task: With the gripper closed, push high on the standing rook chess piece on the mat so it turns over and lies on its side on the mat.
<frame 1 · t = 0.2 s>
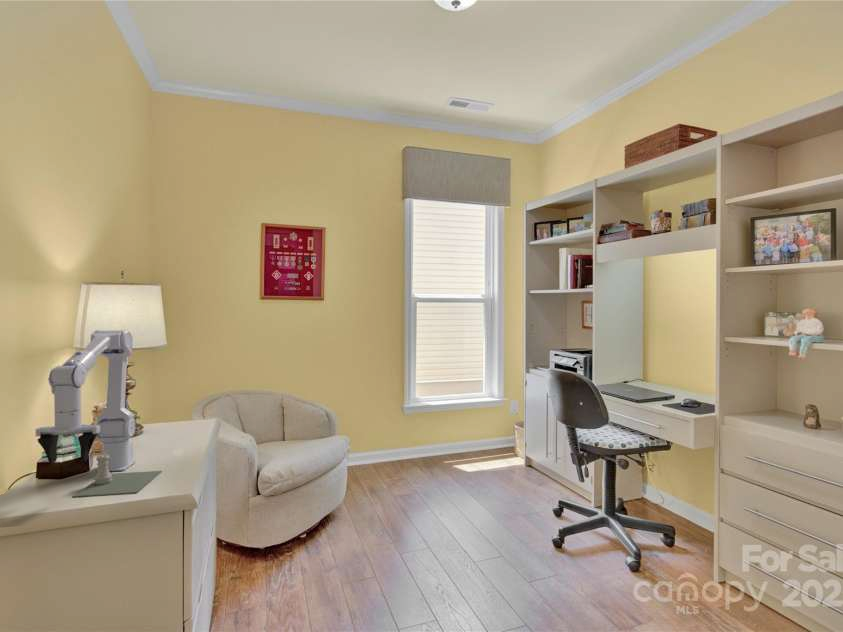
hand: (68, 461, 126), 10 cm above the table, tool pointing down, fingers open, 7 cm apart
mat: (120, 483, 137), on the table
rook chess piece: (103, 483, 137), resting on mat
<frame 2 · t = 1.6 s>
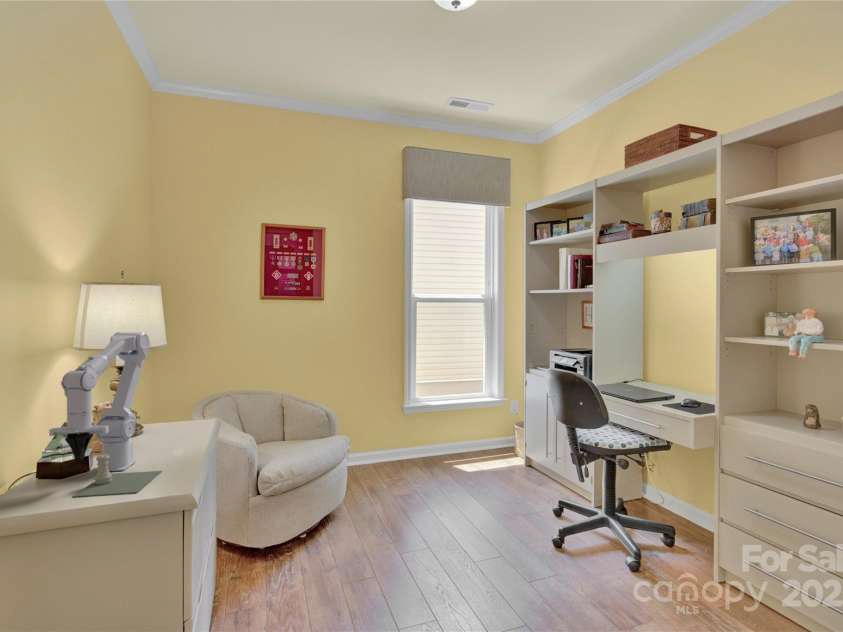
hand: (79, 459, 136), 7 cm above the table, tool pointing down, fingers closed
nothing on the table moved.
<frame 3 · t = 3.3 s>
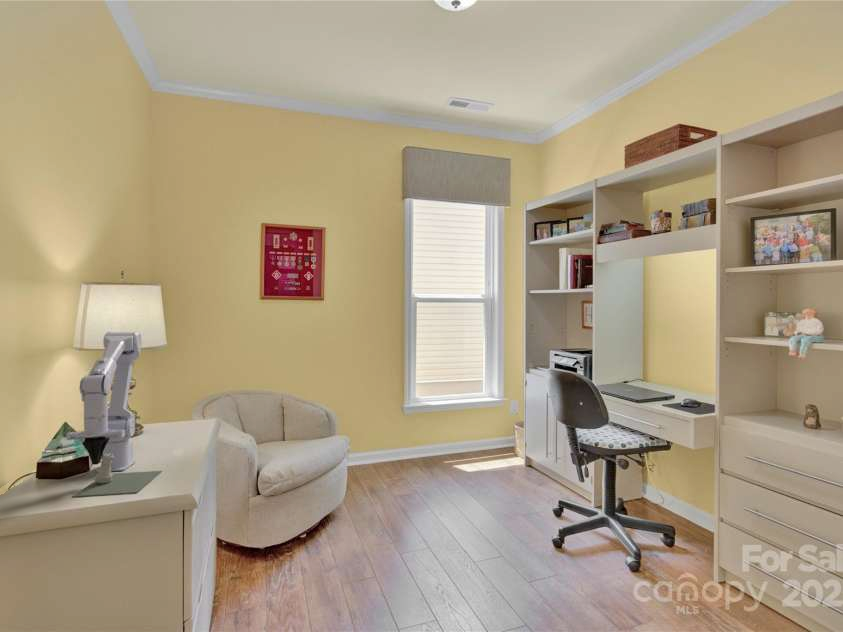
hand: (96, 463, 137), 6 cm above the table, tool pointing down, fingers closed
rook chess piece: (103, 481, 137), resting on mat, touching gripper
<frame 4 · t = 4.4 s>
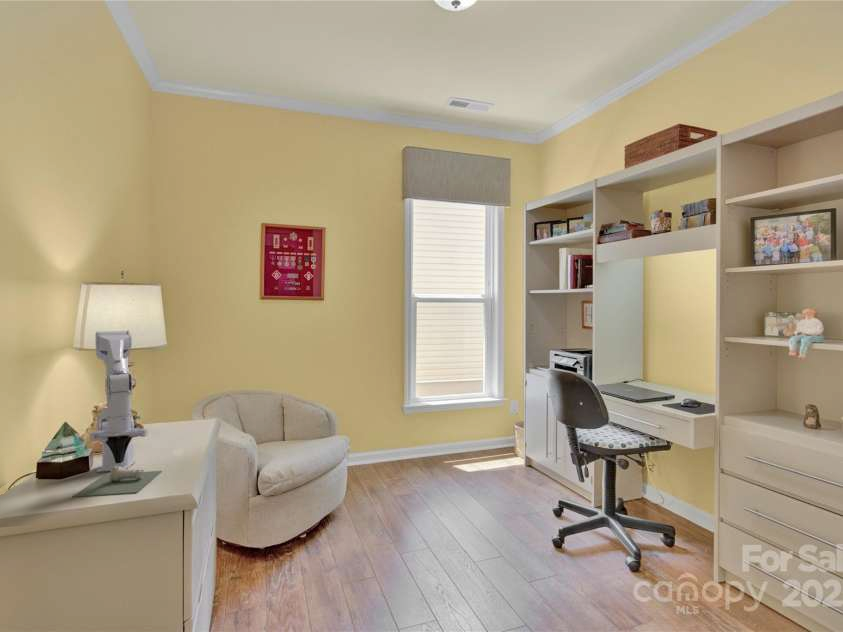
hand: (119, 462, 138), 6 cm above the table, tool pointing down, fingers closed
rook chess piece: (111, 473, 138), point 3 cm above the table, touching mat
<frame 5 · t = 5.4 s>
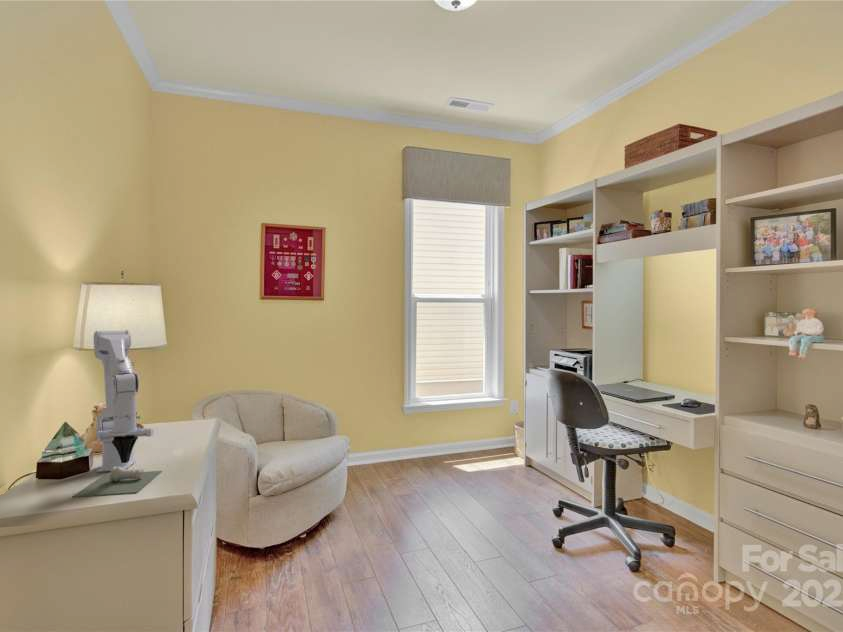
hand: (125, 461, 138), 6 cm above the table, tool pointing down, fingers closed
nothing on the table moved.
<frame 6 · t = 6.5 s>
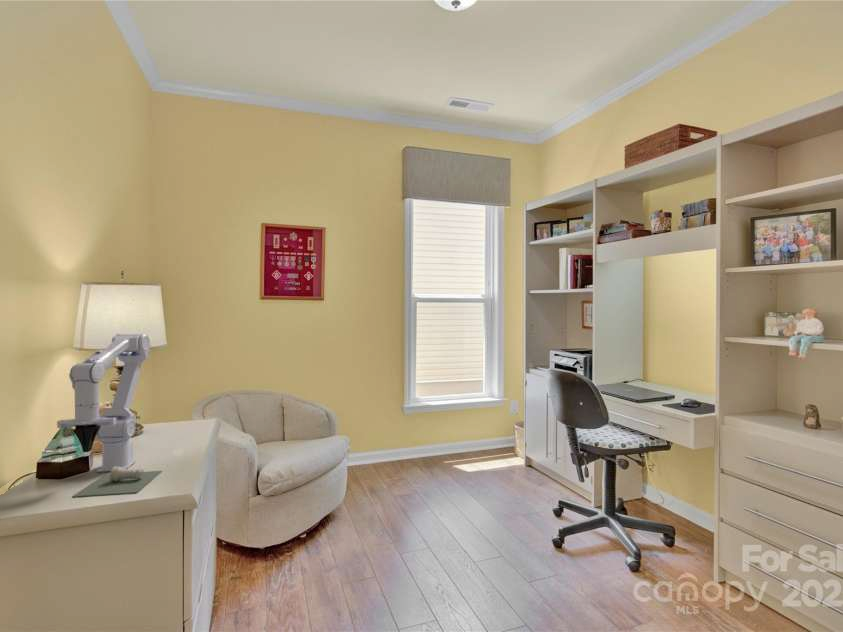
hand: (87, 451, 137), 9 cm above the table, tool pointing down, fingers closed
nothing on the table moved.
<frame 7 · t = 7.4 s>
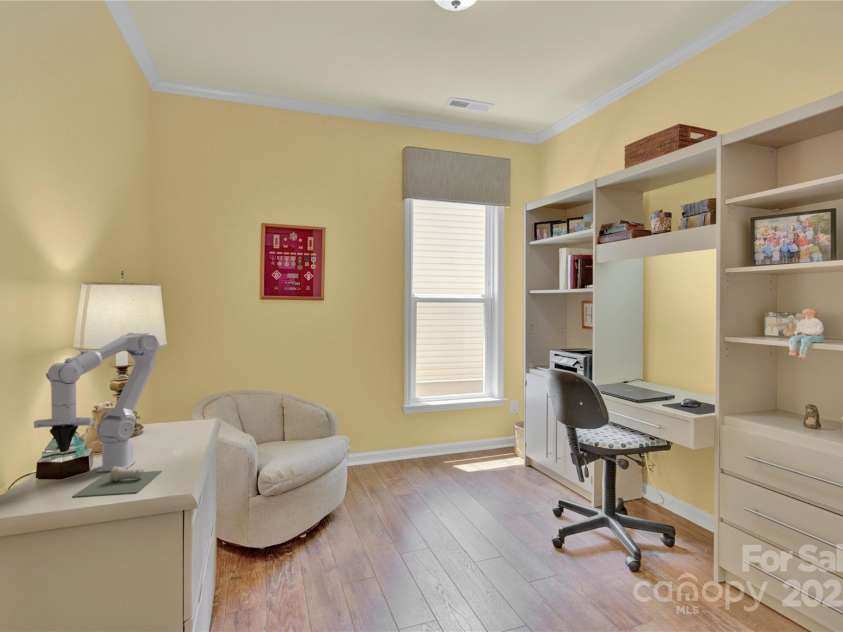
hand: (64, 451, 137), 9 cm above the table, tool pointing down, fingers closed
nothing on the table moved.
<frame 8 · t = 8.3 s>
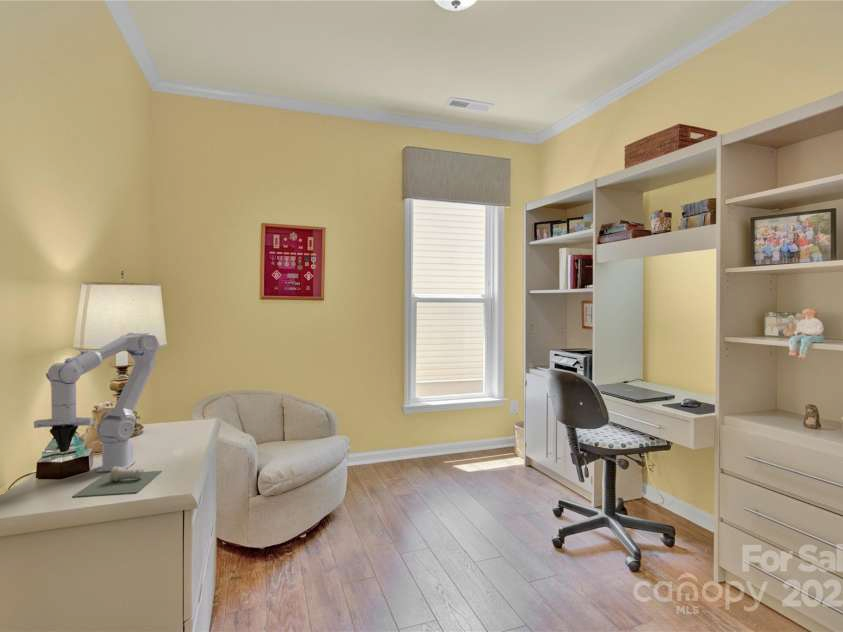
hand: (64, 451, 137), 9 cm above the table, tool pointing down, fingers closed
nothing on the table moved.
at the end: rook chess piece tilted 95°; rook chess piece inside the target area on the mat (3.0 cm from its centre), point 2.5 cm above the mat's base; rook chess piece touching mat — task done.
